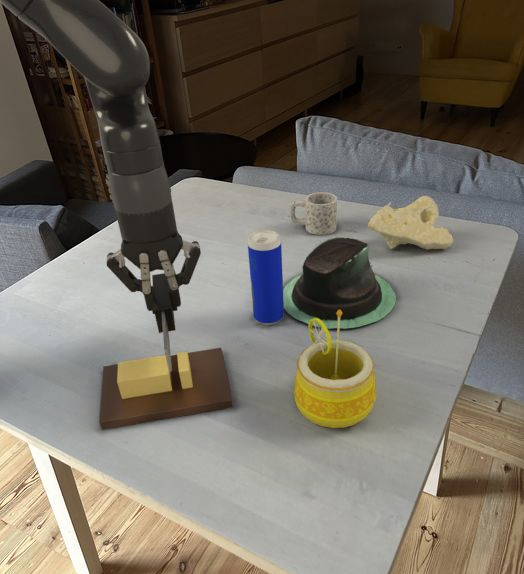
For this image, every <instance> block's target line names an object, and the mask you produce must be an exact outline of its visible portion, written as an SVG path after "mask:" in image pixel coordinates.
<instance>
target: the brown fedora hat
mask: <svg viewBox="0 0 524 574" xmlns="http://www.w3.org/2000/svg"><path fill="white" fill-rule="evenodd" d="M369 252H370V245H369V244H368V243H367V242H365V241H362V240H359V239H358V238H357V237H353V238H351V237H343V236H340V237H339V236H335V237H329V238H328V239H326V240H324V241H322V242H320V243H318V244H317V245H316V246H315V247H314V248H313V250H312V251H310V252H309V253H308V254H307V256H306V258H305V259H304V261H303V264H302V266H301V267H302V268H301V270H302V274H301V275H297V276H296V277H294V278H293V279H292V280H291V281H289V282H288V283H287V284H286V285H285V286H284V287H283V300H284V311H286V313H287V314H288V315H290V316H291V317H292V318H294V319H295V320H297V321H300V322H303V323H304V324H307V325H309V322H310V320H311V319H313V318H318V319H320V320H321V321H322V322H323V323H324V324H325V326H326V327H327V329H328V330H330V329H337V325H338V316H337V314H336V313H337V311H338V310H341V311H342V315H341V317H340V329H346V330H347V329H353V328H359V327H363V326H366V325H370V324H372V323H373V324H374V323H375V322H378V321H380V320H382V319H383V318H384V317H386V316H387V315H388V314H389V313H391V311H392V310H393V309H394V307H395V305H396V302H397V296H396V293H395V292H394V290H393V288H392V286H391V285H390V283H388V282H387V281H386V280H385V279H383V278H382V277H380V276H379V275H377V274H375V273H374V271H373V265H371V264H372V262H370V257H369V254H370V253H369ZM314 322H315V326H316V328H318V326H317V323H316V321H314ZM318 325H319V328H322V327H321V325H320V324H319V323H318ZM315 326H314V323H313V324H312V327H315Z"/></svg>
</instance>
